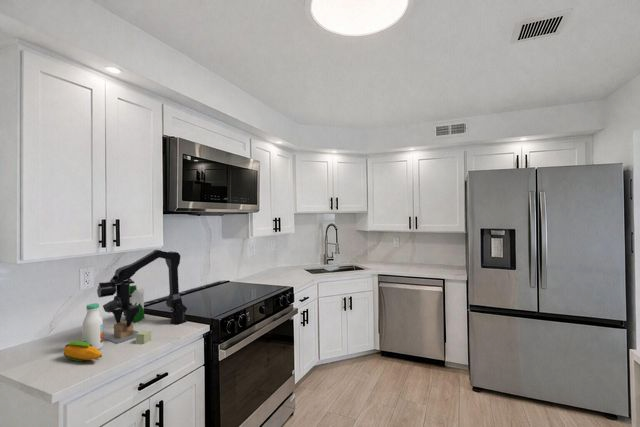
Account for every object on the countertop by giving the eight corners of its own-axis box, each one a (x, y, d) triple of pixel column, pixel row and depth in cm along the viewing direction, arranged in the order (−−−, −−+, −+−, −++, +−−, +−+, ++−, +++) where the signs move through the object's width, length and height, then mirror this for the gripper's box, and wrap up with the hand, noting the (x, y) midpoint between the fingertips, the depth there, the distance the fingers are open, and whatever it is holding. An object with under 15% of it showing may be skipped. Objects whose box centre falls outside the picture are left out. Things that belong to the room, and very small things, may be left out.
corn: (75, 335, 140) (109, 340, 134) (77, 352, 141) (110, 358, 134) (57, 343, 133) (91, 349, 127) (58, 361, 134) (93, 368, 127)
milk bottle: (96, 352, 141) (96, 306, 141) (78, 352, 140) (77, 307, 140) (107, 345, 149) (106, 301, 149) (89, 345, 148) (89, 302, 148)
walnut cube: (126, 332, 163) (126, 320, 163) (133, 334, 160) (133, 322, 160) (113, 336, 158) (113, 324, 158) (120, 338, 155) (120, 326, 155)
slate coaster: (129, 330, 168) (129, 329, 168) (144, 334, 161) (144, 333, 161) (102, 338, 157) (102, 337, 157) (117, 343, 150) (117, 342, 150)
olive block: (142, 339, 155) (142, 330, 155) (150, 340, 154) (150, 331, 154) (135, 343, 150) (135, 333, 150) (144, 344, 150) (144, 334, 150)
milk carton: (122, 322, 180) (122, 287, 180) (133, 317, 189) (133, 283, 189) (137, 323, 179) (136, 287, 179) (147, 317, 188) (147, 283, 188)
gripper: (95, 294, 157) (95, 326, 157) (116, 299, 147) (116, 333, 147) (119, 290, 166) (119, 320, 166) (140, 294, 157) (140, 326, 157)
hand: (123, 325), depth 159 cm, fingers open, 9 cm apart
